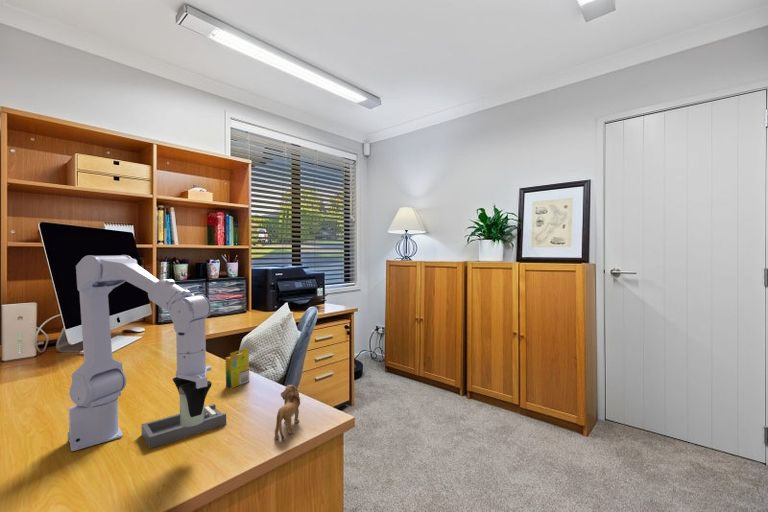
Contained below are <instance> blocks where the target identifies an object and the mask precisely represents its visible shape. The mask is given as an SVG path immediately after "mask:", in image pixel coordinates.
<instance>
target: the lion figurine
mask: <svg viewBox="0 0 768 512" xmlns="http://www.w3.org/2000/svg"><path fill="white" fill-rule="evenodd" d="M280 397H281V398H282V400H284V405H283V406H281V407H280V408H279V409H278V411H277V415H276V421H275V422H276V425H275V430H274V440H279V439H280V437H281V442H285V436H284V433H283V430H282V423H283V424H285V425H286V426H287V428H286V429H287V432H288V434H290V435H294V434H295V430H294V429H292V417H293V416H294V421H293V422H294V423H300V419H299V414H300V410H299V407H300V405H301V397H300V393H299V390H298V388H297V387H296V386H295V385H294V384H287V385H286V387H285V388H284V390H283V391H281V392H280ZM283 420H284V421H283ZM282 421H283V422H282ZM279 434H280V435H279Z"/></svg>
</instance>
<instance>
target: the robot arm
mask: <svg viewBox="0 0 768 512" xmlns="http://www.w3.org/2000/svg"><path fill="white" fill-rule="evenodd" d="M75 270H76V271H75V273H76V286H77V287H76V288H77V291H78V292H79V305H80V320H81V321H80V322H81V336H82V347H83V360H84V361H83V362H82V364H81V365H80V366H78V368H77V369H76V370H74V371H73V372H72V374H71V384H70V387H69V389H68V390H69V392H68V393H69V394H68V395H69V397H70V400H71V401H72V403H74V404H75V405H73V406H70V407H68V432H67V440H68V441H69V447H70V452H74V451H79V450H81V449H85V448H90V447H92V446H96V445H99V444H102V443H106V442H111V441H113V440H117V439H120V438H122V437H124V434H123V432H122V430H121V428H120V426H119V397H121V395H122V391H124V389H125V388H126V385H127V375H126V373H125V372H124V368H123V363H122V362H121V361H119V360H117V359H115V358H114V357H113V349H112V336H111V335H112V334H111V323H110V322H111V319H110V307H109V306H110V304H109V294H110V293H111V292H112V291H113V289H115V288H117V287H119V286H121V285H122V284H124V283H125V282H127V283H129V284H131V285H133V286H134V287H136V288H138V289H141V290H142V291H145V292H146V293H147V296H148V299H149V301H150V302H152V303H153V304H155V305H157V306H159V307H160V308H162V309H163V310H165V311H167V313H168V315H169V318H170V320H171V321H172V323H173V330H174V332H175V334H176V335H175V337H176V338H175V339H176V341H175V343H176V344H175V345H176V372H175V376H176V377H173V378H172V381H173V383H174V385H175V388H177V389H176V390H177V391H178V394H179V396H180V393H179V387H180V386H181V385H183V384H186V383H190V382H191V384H187V385H183V386H181V388H182V390H183V392H184V394H185V396H186V399H187V403H188V409H189V414H190V416H191V417H195V416H198V415H201V414H202V410H203V406H204V407H205V401H206V397H207V395H208V393H209V391H210V389H211V387H212V381H211V380H208V377H207V373H208V372H210V371H213V370H212V366H211V365H207V361H206V360H207V357H206V353H207V350H206V347H207V343H206V340H207V339H206V337H207V336H206V319H207V318H208V317H209V316H210V314H211V312H212V303H211V301H210V300H209V298H208V297H206V296H205V295H204V294H202V293H198V294H194V293H191V291H190V290H188V289H185V288H183V287H181V286H180V285H177V284H176V281H175V280H174V279H172V278H169V279H167V278H164V279H163V278H162V279H158V278H157V277H155V276H154V275H152V273H150V272H149V271H147V270H146V269H144V267H142V266H141V265H139V264H138V260H137V259H136V258H132V257H131V256H130V255H127V254H121V255H90V254H89V255H85V256H84V257H82V258H81V259H80V261H78V263H77V264H76V265H75Z"/></svg>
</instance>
